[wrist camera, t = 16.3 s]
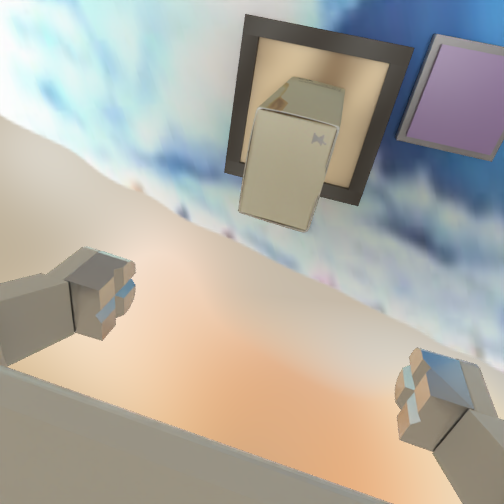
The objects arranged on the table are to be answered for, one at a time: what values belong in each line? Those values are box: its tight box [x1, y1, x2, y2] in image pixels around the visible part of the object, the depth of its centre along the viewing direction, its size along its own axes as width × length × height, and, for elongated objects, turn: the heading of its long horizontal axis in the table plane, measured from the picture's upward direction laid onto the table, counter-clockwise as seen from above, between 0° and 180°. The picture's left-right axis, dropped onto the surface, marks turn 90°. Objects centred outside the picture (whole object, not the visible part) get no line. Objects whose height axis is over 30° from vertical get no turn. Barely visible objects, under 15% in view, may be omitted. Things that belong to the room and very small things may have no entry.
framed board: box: [224, 14, 414, 206], centre depth 29 cm, size 12×12×1 cm
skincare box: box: [238, 77, 345, 232], centre depth 24 cm, size 6×4×12 cm
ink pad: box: [395, 34, 504, 162], centre depth 26 cm, size 7×7×2 cm
